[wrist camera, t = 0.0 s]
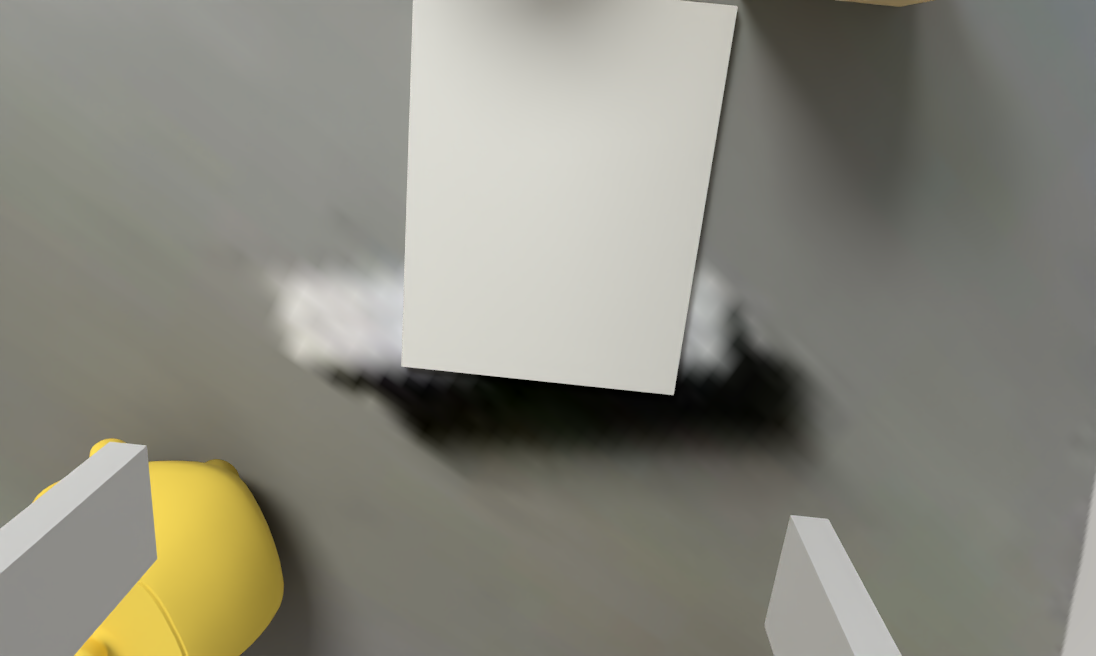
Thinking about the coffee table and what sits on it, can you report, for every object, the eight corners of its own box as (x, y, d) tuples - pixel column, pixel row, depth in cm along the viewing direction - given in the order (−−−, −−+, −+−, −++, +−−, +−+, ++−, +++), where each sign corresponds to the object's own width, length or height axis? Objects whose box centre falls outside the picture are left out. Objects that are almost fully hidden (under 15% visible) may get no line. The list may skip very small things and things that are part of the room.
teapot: (243, 388, 46) (122, 503, 34) (347, 647, 52) (276, 822, 40) (41, 431, 47) (-143, 555, 35) (166, 677, 54) (45, 854, 42)
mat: (416, -25, 38) (414, -27, 37) (735, 6, 37) (738, 6, 37) (403, 362, 45) (401, 366, 44) (672, 390, 44) (673, 395, 44)
